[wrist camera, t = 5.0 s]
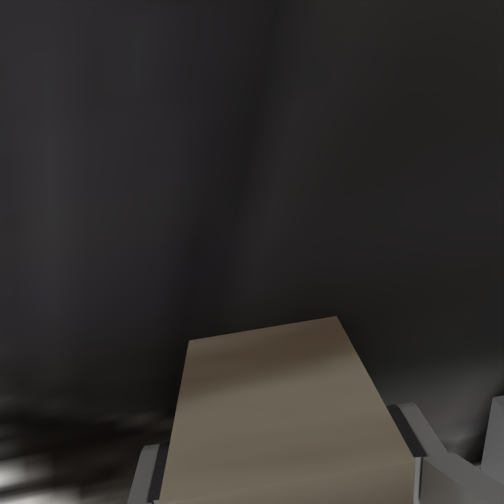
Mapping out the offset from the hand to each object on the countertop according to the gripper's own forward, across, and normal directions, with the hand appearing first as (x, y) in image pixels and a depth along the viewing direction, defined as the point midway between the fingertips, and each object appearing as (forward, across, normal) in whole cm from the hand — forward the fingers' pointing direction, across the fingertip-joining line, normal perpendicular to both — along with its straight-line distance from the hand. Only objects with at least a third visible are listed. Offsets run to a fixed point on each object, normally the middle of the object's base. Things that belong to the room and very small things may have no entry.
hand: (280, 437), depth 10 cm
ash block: (+2, 0, 0) cm, 2 cm away
